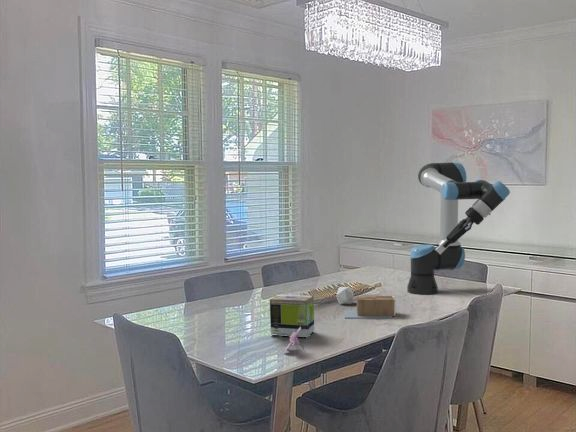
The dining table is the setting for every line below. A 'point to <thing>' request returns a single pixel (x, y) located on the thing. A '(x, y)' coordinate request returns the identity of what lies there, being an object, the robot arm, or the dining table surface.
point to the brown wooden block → (375, 306)
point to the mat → (354, 315)
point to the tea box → (292, 314)
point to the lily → (294, 339)
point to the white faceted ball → (345, 295)
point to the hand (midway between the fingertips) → (437, 252)
